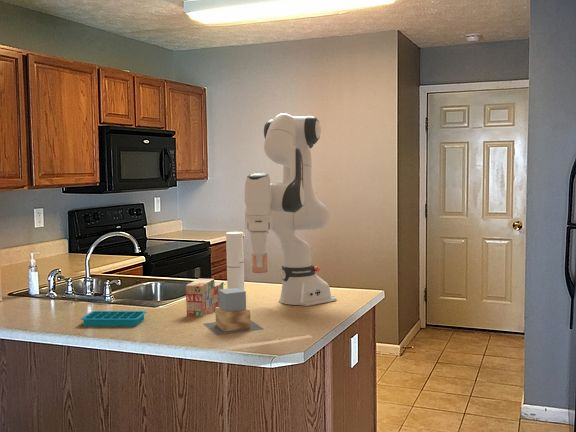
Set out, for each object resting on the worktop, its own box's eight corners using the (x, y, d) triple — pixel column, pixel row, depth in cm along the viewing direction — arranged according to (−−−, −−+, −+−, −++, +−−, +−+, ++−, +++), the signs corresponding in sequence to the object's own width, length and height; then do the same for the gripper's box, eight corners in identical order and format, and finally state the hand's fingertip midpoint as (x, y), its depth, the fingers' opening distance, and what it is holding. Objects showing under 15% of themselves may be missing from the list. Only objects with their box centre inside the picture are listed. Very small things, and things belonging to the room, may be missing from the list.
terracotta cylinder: (263, 270, 211) (263, 252, 211) (269, 272, 207) (269, 254, 206) (249, 271, 209) (249, 253, 209) (255, 273, 205) (255, 255, 204)
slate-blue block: (238, 305, 214) (238, 287, 214) (246, 309, 208) (245, 291, 208) (219, 307, 212) (218, 289, 211) (225, 312, 205) (225, 293, 205)
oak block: (241, 321, 216) (240, 304, 216) (250, 327, 208) (250, 309, 208) (215, 324, 213) (215, 307, 212) (224, 331, 205) (223, 313, 204)
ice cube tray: (137, 327, 216) (137, 319, 215) (79, 327, 217) (79, 319, 217) (147, 319, 227) (147, 311, 227) (92, 319, 229) (92, 310, 229)
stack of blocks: (209, 305, 247) (208, 273, 246) (224, 305, 245) (223, 274, 244) (186, 318, 226) (185, 284, 225) (202, 319, 225) (201, 285, 223)
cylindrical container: (247, 290, 271) (246, 232, 269) (235, 293, 266) (234, 234, 264) (236, 288, 276) (234, 231, 274) (224, 291, 271) (222, 233, 268)
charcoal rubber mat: (247, 320, 221) (247, 318, 221) (264, 332, 206) (264, 329, 206) (202, 326, 215) (202, 323, 214) (217, 338, 200) (217, 335, 200)
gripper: (249, 220, 217) (250, 260, 218) (248, 226, 197) (249, 270, 198) (268, 220, 217) (269, 260, 218) (268, 226, 197) (269, 270, 198)
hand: (259, 265), depth 208 cm, fingers closed on terracotta cylinder, 5 cm apart
